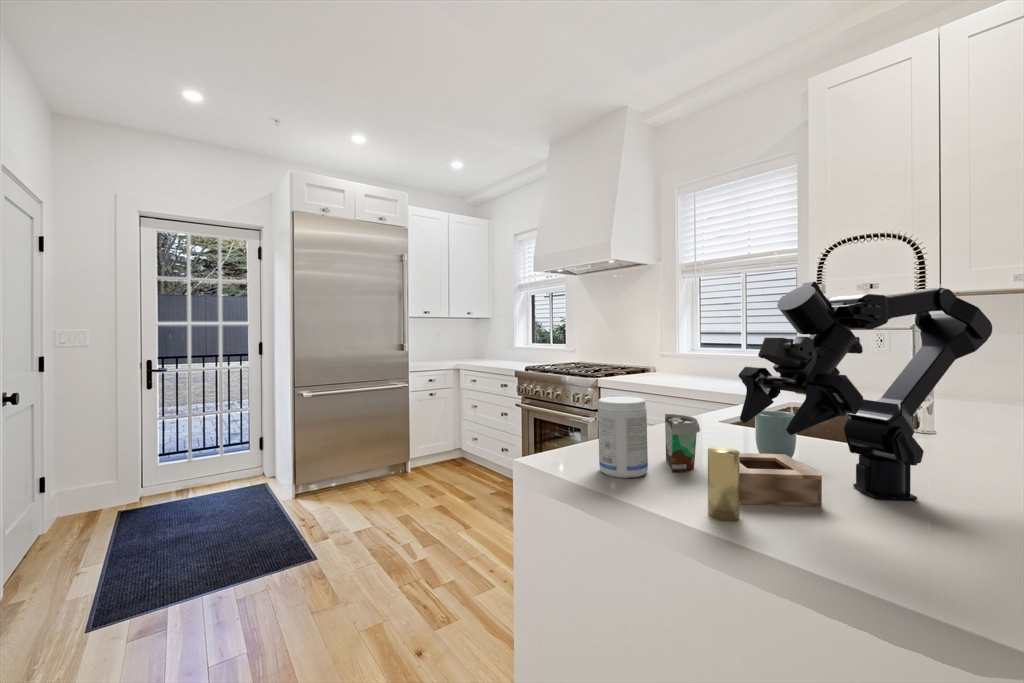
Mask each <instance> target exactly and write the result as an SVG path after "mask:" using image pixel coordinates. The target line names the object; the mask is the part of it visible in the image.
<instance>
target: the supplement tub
mask: <svg viewBox="0 0 1024 683" xmlns="http://www.w3.org/2000/svg"><path fill="white" fill-rule="evenodd" d="M597 401H598V405H597V424H598V425H597V426H598V428H597V429H598V430H597V431H598V463H599V465H598V466H599V470H600V472H602V474H605V475H607V476H610V477H613V478H621V479H629V478H640V477H642V476H644V475H645V474H647V472H648V470H649V464H648V463H649V460H648V459H649V458H648V456H649V454H648V420H647V419H648V418H647V417H648V416H647V404H646V399H644V398H641V397H635V396H608V397H607V396H605V397H602V398H599V399H598V400H597Z"/></svg>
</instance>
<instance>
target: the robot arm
mask: <svg viewBox="0 0 1024 683" xmlns="http://www.w3.org/2000/svg"><path fill="white" fill-rule="evenodd" d="M776 305H777V308H778V310H779V311H780V313H782V315H783V316H784V318H785V319H787V322H788V323H789V324H790V325H791V326H792V327H793V329H794V330H795V331H796V332H797V333H798V334H799V335H809V336H796V337H795V338H794V339H793V338H787V337H764V339H763V341H762V344H761V346H760V349H759V352H758V354H757V357H758V358H760V359H765V360H767V362H768V361H769V362H770V363H772V364H774V365H773V366H772V368H773V370H774V371H775V372H776V373H779V376H773V375H772V373H771V372H770V371H769V370H768V369H767V368H766V367H760V366H759V367H758V366H744V367H743V368H742V370H741V371H740V372H739V374H738V378H739V379H740V380H741V381H742V382H741V383H743V385H744V386H745V389H746V394H745V399H744V402H743V406H742V409H741V412H740V416H739V420H740V421H741V423H743V424H746V423H748V422H749V421H751V420H753V419H755V416H756V415H758V414H759V413H760V412H762V411H765V410H766V409H767V408H769V407H770V406H771V405H772V404H773V403H774V402H775V401H774V400H773V399H775V398H777V397H778V396H779V395H780V394H781V391H784V392H785V391H786V392H790V393H791V392H792V393H795V394H797V395H803V396H805V399H804V401H803V402H802V404H801V405H800V406H799V408H798V409H797V411H796V413H794V414H795V415H794V417H793V418H792V420H791V421H790V423H789V425H788V427H787V429H786V431H787V432H788V434H790V435H793V434H796V433H800V432H802V431H804V430H807V429H809V428H811V427H813V426H816V425H819V424H821V423H824V422H826V421H829V420H832V419H835V418H838V417H845V416H846V415H847V416H848V418H847V420H846V422H844V423H845V424H844V427H843V431H844V435H845V439H846V442H847V445H848V450H849V452H850V454H851V453H852V454H857V455H858V463H856V464H855V483H852V485H853V486H852V487H854V488H855V489H857V490H859V491H861V492H863V493H864V494H866V495H868V496H870V497H872V498H873V499H878V500H879V499H880V500H900V501H901V500H902V501H904V500H905V501H918V496H916V495H914V494H912V493H911V476H912V474H911V473H912V472H911V470H912V468H911V466H914V467H915V466H918V464H921V463H922V461H923V457H924V453H925V452H924V449H923V448H922V447H921V445H920V444H919V443H918V442H917V440H916V439H915V438H914V434H915V429H914V428H915V427H914V421H913V416H914V414H915V413H916V412H917V411H918V410H919V408H920V407H921V405H922V404H923V403H924V401H925V400H926V399H927V397H928V396H929V394H930V393H932V391H933V389H935V387H936V385H938V383H939V382H940V380H941V379H942V378H943V376H944V375H945V374H946V373H947V372H948V370H949V368H950V367H951V366H952V365H953V364H954V362H956V360H958V359H960V358H962V357H965V356H969V355H970V354H972V353H976V352H977V350H978V349H980V348H981V347H982V346H983V345H984V344H985V343H986V342H987V341H988V340H989V338H990V337H991V336H992V333H993V325H992V321H991V320H990V319H989V318H988V317H987V316H986V315H985V313H984V312H983V311H982V310H981V308H980V307H978V306H977V305H975V304H972V303H970V302H968V301H966V300H964V299H962V298H959V297H958V296H956V295H955V293H954V292H953V291H952V290H951V289H949V288H945V287H935V288H924V289H923V288H922V289H920V288H919V289H917V290H915V291H911V292H905V293H904V292H903V293H898V294H897V293H896V294H890V295H883V294H876V293H875V294H872V293H867V294H866V293H865V294H864V293H863V294H855V295H854V294H853V295H840V296H833V297H830V298H829V299H828V298H827V297H826V296H825V294H824V293H823V291H822V289H821V287H820V286H819V284H818V283H817V282H816V281H807V282H803V283H802V284H801V286H799V287H797V288H794V289H793V290H790V291H789V292H788V293H787V294H785V295H782V296H781V297H780V299H778V301H777V304H776ZM931 312H943V313H936V314H931ZM911 315H912V316H913V315H915V323H914V325H915V326H916V327H917V328H918V329H919V330H920V333H919V334H920V337H921V338H920V339H921V342H922V345H921V347H920V348H919V349H918V351H917V352H916V353H915V354H914V355H913V357H912V358H911V360H909V362H908V363H907V365H905V367H904V368H903V370H902V371H901V372H900V373H899V374H898V376H897V377H896V379H895V380H894V381H893V382H892V383H891V384H890V386H889V387H888V388H887V390H886V391H885V392H884V393H883V395H882V396H881V397H880V398H879V399H878V400H873V399H865V398H864V396H863V395H862V394H861V392H860V391H859V389H858V388H857V387H856V386H855V384H854V383H853V382H852V381H851V380H850V378H849V377H848V376H847V375H846V374H841V372H840V370H839V369H838V368H837V367H838V366H839V364H840V363H841V361H842V360H843V359H844V358H845V357H846V356H847V354H862V353H863V352H864V351H863V350H864V349H863V346H862V344H861V340H860V339H861V338H860V337H859V336H856V335H855V333H853V332H852V331H854V330H855V331H859V330H860V331H861V330H863V331H864V330H865V331H868V330H874V329H877V328H880V327H882V326H884V325H886V324H887V323H888V322H889V320H892V319H894V318H899V317H900V318H901V317H906V316H911Z"/></svg>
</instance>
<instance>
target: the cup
mask: <svg viewBox="0 0 1024 683" xmlns="http://www.w3.org/2000/svg"><path fill="white" fill-rule="evenodd" d="M795 414H796V413H793V412H787V411H777V410H763V411H762V412H760V413H759V414H758V415H756V416H755V417H754V422H755V423H754V427H755V428H754V431H755V433H754V434H755V444H756V450H757V452H758V454H786V455H787V456H789V457H791V458H792V459H793V457H794V454H795V451H796V447H797V433H796V434H793V435H790V434H788V432H787V431H786V429H787V427H788V425H789V423H790V421H791V420H792V418H793V417H794V415H795Z"/></svg>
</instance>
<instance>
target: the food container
mask: <svg viewBox="0 0 1024 683" xmlns="http://www.w3.org/2000/svg"><path fill="white" fill-rule="evenodd" d="M664 423H665V424H664V427H665V428H664V432H665V461H666V463H667V465H668V467H669V469H670V471H671V472H670V473H673V474H674V473H675V474H678V473H681V474H683V473H688V472H692V471H694V469H695V464H696V463H695V462H696V461H695V460H696V449H697V448H696V447H697V435H698V434H697V433H700V432H701V428H700V423H699V421H698V419H697V418H695V417H693V416H689V415H682V414H677V413H676V414H674V413H664Z"/></svg>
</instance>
